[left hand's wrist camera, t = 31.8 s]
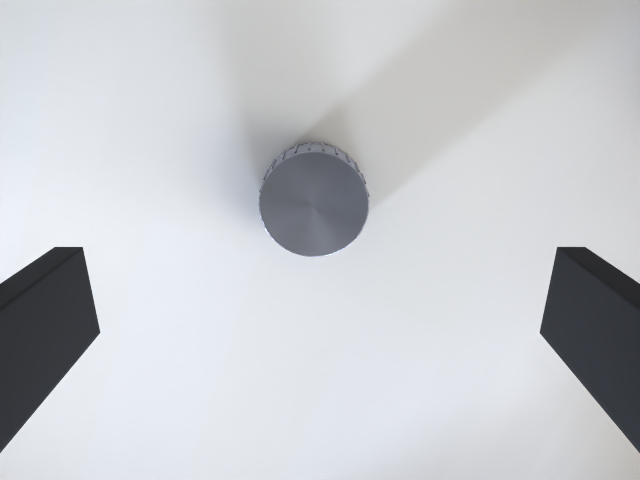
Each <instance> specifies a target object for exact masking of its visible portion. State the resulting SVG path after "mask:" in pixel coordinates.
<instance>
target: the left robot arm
mask: <svg viewBox="0 0 640 480" xmlns="http://www.w3.org/2000/svg"><path fill="white" fill-rule="evenodd" d="M99 334H100V329H99V324H98V319H97V315H96V310H95V305H94V300H93V295H92V290H91V285H90V280H89V276H88V271H87V266H86V261H85V256H84V251H83V247H54V248H53V249H51V250H50V251H48V252H47V253H45V254H44V255H42V256H41V257H39V258H38V259H37V260H35V261H34V262H32V263H31V264H29V265H28V266H26V267H25V268H23V269H22V270H20V271H19V272H17V273H16V274H14V275H13V276H11V277H10V278H8V279H7V280H5V281H4V282H2V283H1V284H0V453H1V451H2V450H3V449H4V448H5V447H6V445H7V444H8V443H9V442H10V441H11V439H12V438H13V437H14V436H15V435H16V433H17V432H18V431H19V430H20V429H21V427H22V426H23V425H24V424H25V423H26V421H27V420H28V419H29V418H30V417H31V415H32V414H33V413H34V412H35V411H36V409H37V408H38V407H39V406H40V405H41V403H42V402H43V401H44V400H45V399H46V397H47V396H48V395H49V394H50V393H51V391H52V390H53V389H54V388H55V387H56V385H57V384H58V383H59V382H60V381H61V379H62V378H63V377H64V376H65V375H66V373H67V372H68V371H69V370H70V368H71V367H72V366H73V365H74V364H75V362H76V361H77V360H78V359H79V358H80V356H81V355H82V354H83V353H84V352H85V350H86V349H87V348H88V347H89V346H90V344H91V343H92V342H93V341H94V340H95V338H96V337H97V336H98V335H99ZM540 334H541V335H542V336H543V337H544V338H545V340H546V341H547V342H548V343H549V344H550V346H551V347H552V348H553V349H554V350H555V352H556V353H557V354H558V355H559V356H560V358H561V359H562V360H563V361H564V362H565V364H566V365H567V366H568V367H569V368H570V370H571V371H572V372H573V373H574V375H575V376H576V377H577V378H578V379H579V381H580V382H581V383H582V384H583V385H584V387H585V388H586V389H587V390H588V391H589V393H590V394H591V395H592V396H593V397H594V399H595V400H596V401H597V402H598V403H599V405H600V406H601V407H602V408H603V409H604V411H605V412H606V413H607V414H608V415H609V417H610V418H611V419H612V420H613V421H614V423H615V424H616V425H617V426H618V427H619V429H620V430H621V431H622V432H623V433H624V435H625V436H626V437H627V438H628V439H629V441H630V442H631V443H632V444H633V445H634V447H635V448H636V449H637V450H638V451H639V453H640V284H639V283H638V282H636V281H635V280H633V279H632V278H630V277H629V276H627V275H626V274H624V273H623V272H621V271H620V270H618V269H617V268H615V267H614V266H612V265H611V264H609V263H608V262H606V261H605V260H603V259H602V258H601V257H599V256H598V255H596V254H595V253H593V252H592V251H590V250H589V249H587V248H586V247H557V251H556V256H555V261H554V266H553V271H552V276H551V280H550V285H549V290H548V295H547V300H546V305H545V310H544V315H543V319H542V324H541V329H540Z"/></svg>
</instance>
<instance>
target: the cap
mask: <svg viewBox="0 0 640 480" xmlns="http://www.w3.org/2000/svg"><path fill="white" fill-rule="evenodd" d="M264 180H265V181H264V182H263V184H262V186H261V189H260V197H259V211H260V216H261V220H262V222H263V225H264V227H265V229H266V231H267V232H268V233H269V235H270V236H271V237H272V238H273V240H274V241H275V242H277V243H278V244H279V245H280V246H282V247H283V248H285V249H286V250H288V251H290V252H292V253H295V254H298V255H303V256H310V257H319V256H326V255H330V254H333V253H335V252H338V251H340V250H342V249H344V248H345V247H347V246H348V245H349V244H351V243H352V242H353V241H354V240H355V239H356V238H357V236H358V235H359V234H360V232H361V231H362V229H363V227H364V225H365V223H366V220H367V216H368V211H369V198H368V197H369V194H368V191H367V188H366V186H365V184H366V182H365V179H364V177H363V174H361V173H360V171H359V168H358V165H357V163H356V162H355V163H354V162H353V160H352V159H351V158H350V157H349V156H348V154H347V153H346V154H345V153H344V152H342V151H341V150H339V149H337V147H336V146H335V147H333V146H330V145H326V144H324V143H323V142H322V144H321V143H311V142H309V143H307V144H302V145H295V147H293V148H291V149H289V150H287V151H284V152H283V154H282V155H281V156H279V157H278V158H277V159H275V160H274V161H273V164H272V166H271V167H270V169H269V170H267V172H266V175H265V177H264Z"/></svg>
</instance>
